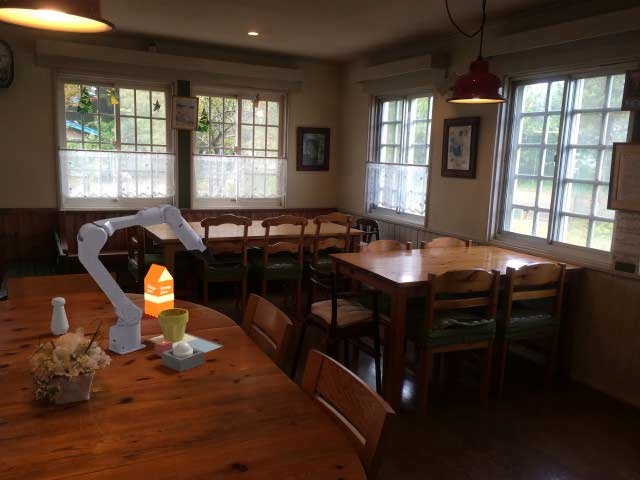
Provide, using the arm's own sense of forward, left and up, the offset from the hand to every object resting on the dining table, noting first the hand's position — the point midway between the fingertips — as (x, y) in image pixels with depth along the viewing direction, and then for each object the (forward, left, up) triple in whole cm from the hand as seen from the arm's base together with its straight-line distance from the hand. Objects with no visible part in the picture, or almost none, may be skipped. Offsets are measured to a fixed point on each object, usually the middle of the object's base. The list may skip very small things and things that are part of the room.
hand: (208, 260), depth 191 cm
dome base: (-24, -16, -27) cm, 40 cm away
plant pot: (-12, +4, -27) cm, 30 cm away
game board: (-12, -2, -27) cm, 30 cm away
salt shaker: (-35, +38, -27) cm, 59 cm away
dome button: (-24, -16, -25) cm, 38 cm away
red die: (-23, -5, -27) cm, 36 cm away
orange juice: (+3, +32, -27) cm, 42 cm away
